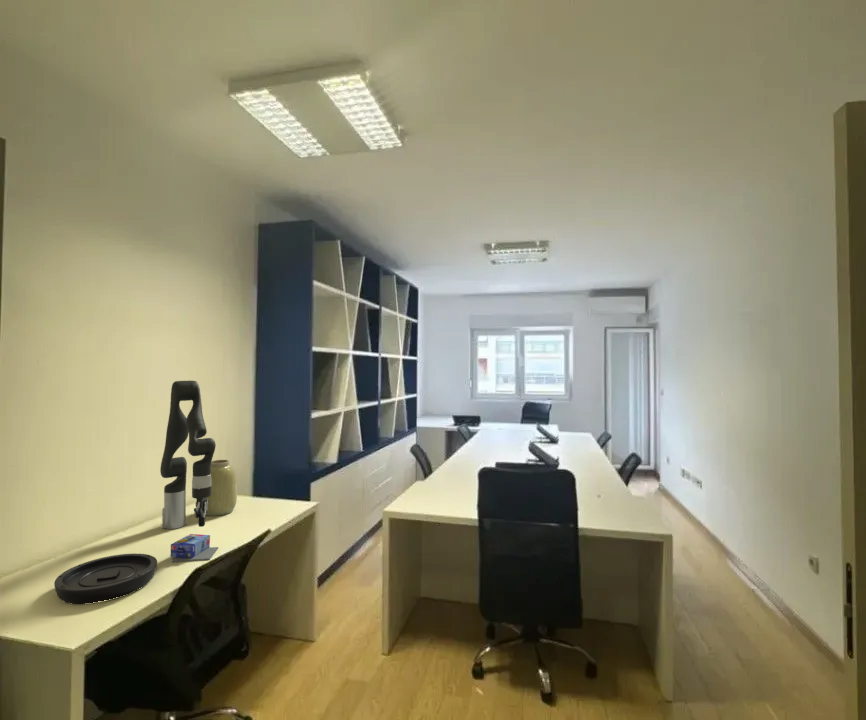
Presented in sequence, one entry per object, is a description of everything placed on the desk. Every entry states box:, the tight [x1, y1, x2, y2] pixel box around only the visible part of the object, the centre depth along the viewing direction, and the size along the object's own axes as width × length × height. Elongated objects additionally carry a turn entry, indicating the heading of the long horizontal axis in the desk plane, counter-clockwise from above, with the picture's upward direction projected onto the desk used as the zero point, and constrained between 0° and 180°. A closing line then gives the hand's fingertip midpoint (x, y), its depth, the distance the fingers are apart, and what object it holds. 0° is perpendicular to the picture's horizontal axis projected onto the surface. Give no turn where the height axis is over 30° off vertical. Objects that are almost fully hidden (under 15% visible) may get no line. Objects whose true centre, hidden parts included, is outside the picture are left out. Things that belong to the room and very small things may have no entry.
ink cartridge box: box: [170, 533, 211, 558], centre depth 194 cm, size 10×6×14 cm
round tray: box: [53, 553, 158, 605], centre depth 167 cm, size 30×6×30 cm
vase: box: [206, 459, 238, 517], centre depth 250 cm, size 17×17×27 cm
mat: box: [171, 546, 219, 563], centre depth 193 cm, size 14×12×1 cm
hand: (201, 526), depth 200 cm, fingers closed
